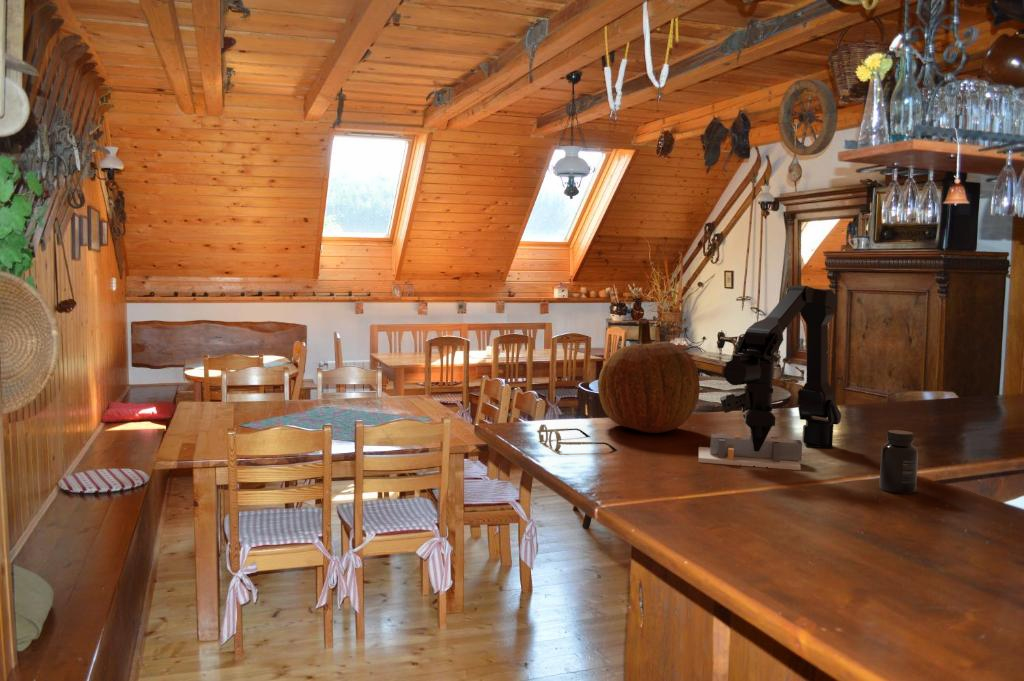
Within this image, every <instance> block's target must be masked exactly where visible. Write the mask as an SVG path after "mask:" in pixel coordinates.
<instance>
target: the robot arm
mask: <svg viewBox="0 0 1024 681" xmlns="http://www.w3.org/2000/svg"><path fill="white" fill-rule="evenodd" d="M837 303H838V297H837V294H836V293H834V291H833V290H832V289H829V288H814V287H812V286H809V285H792V286H791V285H790V286H789V287H788V288H787V292H786V294H785V295H784V296H782V299H780V300H779V302H778V303H777V304H776V306H775V307H774V308H773V309H772V310H771V311H770V312H769V314H767V316H766V317H765V318H763V319H760V320H758V321H755V322H754V323H753V324H751V325H750V326H749V327H748V328H747V329H746V331H745V332H744V335H743V336H742V339H741V341H740V343H739V345H738V347H737V349H736V351H735V353H734V354H732V358H731V359H730V360H728V361H727V363H726V364H725V367H724V368H723V376H724V378H725V380H726V382H727V383H729V385H732V386H742V385H743V386H744V389H743V391H737V392H732V393H731V394H726V395H723V396H720V398H719V401H720V403H721V407H722V409H723V412H724V413H730V412H732V411H734V410H738V409H741V412H742V413H745V414H742V417H743V418H744V423H745V425H746V426H748V428H749V429H750V430H749V431H750V437H752V440H753V447H754V451H759V450H760V448H761V446H762V444H763V443H764V441H765V439H766V438H768V435H769V433H770V431H771V429H772V428H773V427H775V426H776V416H775V414H774V413H773V412H772V411H773V405H772V401H773V393H774V387H773V384H774V381H773V380H774V366H775V365H774V364H775V363H777V362H779V358H778V357H777V356H776V355H775V353H777V351H778V350H779V349H780V347H781V345H782V343H783V341H784V332H785V330H786V329H787V327H788V326H789V325H790V324H791V323H792V322H793V321H794V319H795V318H796V317H797V315H798V314H799V315H800V316H801V318H802V319H803V321H804V323H805V325H806V382H805V383H804V385H803V387H802V388H800V389H798V390H797V391H798V392H797V397H798V400H797V410H798V414H799V415H798V416H799V420H803V421H805V424H803V426H802V440H801V442H802V443H804V446H805V447H809V448H823V449H824V448H825V449H834V445H833V438H834V425H839V424H840V423H841V420H842V413H841V411H840V409H839V407H838V405H837V403H836V401H835V391H834V390H833V388H832V387H831V385H830V383H829V380H828V360H829V358H828V357H829V356H828V352H829V350H828V348H829V340H828V338H829V329H828V328H829V324H830V322H831V321H832V318H834V316H835V314H836V307H837Z"/></svg>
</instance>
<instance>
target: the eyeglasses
mask: <svg viewBox="0 0 1024 681" xmlns="http://www.w3.org/2000/svg"><path fill="white" fill-rule="evenodd" d="M565 431H567V432H568V431H578V432H580V433H581V434H582V435H584V436H585V438H591V435H589V434H587V433H586V432H585V431H584V430H582V429H580V428H577V427H575V428H553V429H552V428H551V429H548V428H547V425H546V424H543V423H542V424H540V426H539V427H538V429H537V430H536V432H537V433H538V440H539V442H540V443H543V444H544V445H547V443H548V444H549V445H548V446H549V448H550V449H553V447H552V442H553V440H552V434H553V432H554V434H555V438H556V446H555V449H554V451H559V450H560V449H561V446H562V445H567V446H568V445H569V446H572V445H579V446H580V445H606V446H608V447H609V448H610V449H611V450H612V451H618V449H617V448H615V447H614V446H613V445H611V444H610V443H607V442H599V441H596V442H595V441H562V437H561V434H560V432H565ZM542 433H545V439H544V434H542Z"/></svg>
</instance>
